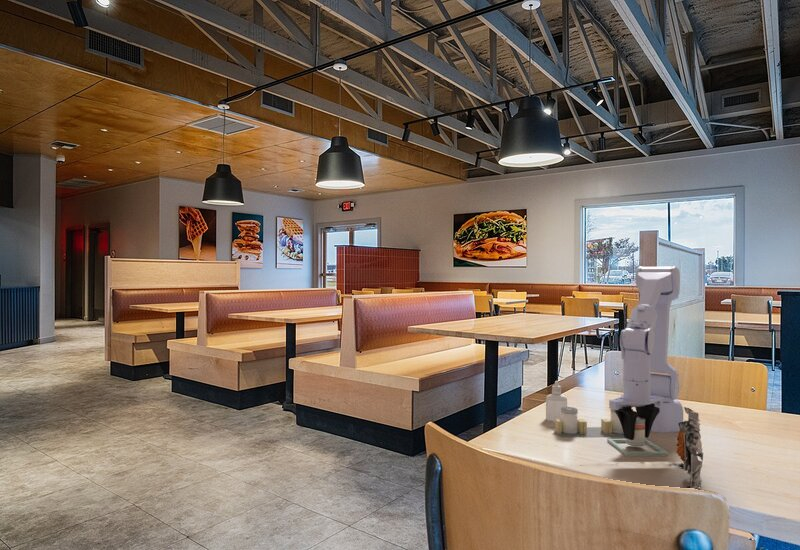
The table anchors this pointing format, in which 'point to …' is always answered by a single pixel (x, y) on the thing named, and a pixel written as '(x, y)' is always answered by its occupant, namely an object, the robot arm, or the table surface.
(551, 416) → the eye dropper bottle
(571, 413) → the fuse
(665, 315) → the robot arm
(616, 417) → the fuse
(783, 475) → the table surface
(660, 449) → the tray
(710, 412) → the table surface
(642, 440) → the cylinder
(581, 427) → the fuse holder
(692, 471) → the meal
